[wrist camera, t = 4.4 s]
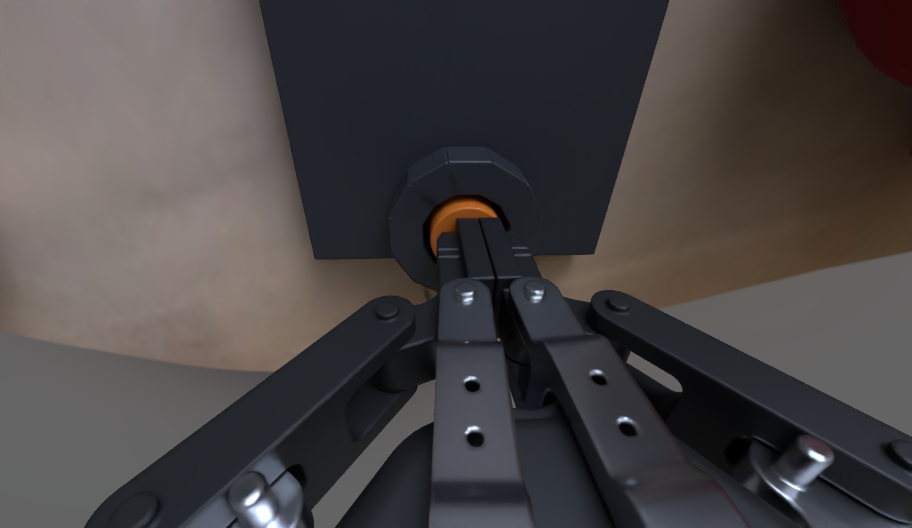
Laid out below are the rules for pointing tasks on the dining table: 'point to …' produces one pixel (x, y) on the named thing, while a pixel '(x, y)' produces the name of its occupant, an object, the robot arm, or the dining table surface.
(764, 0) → the dining table surface
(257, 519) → the robot arm
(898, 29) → the apple
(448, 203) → the button
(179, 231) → the dining table surface
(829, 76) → the dining table surface
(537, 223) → the push button pad
